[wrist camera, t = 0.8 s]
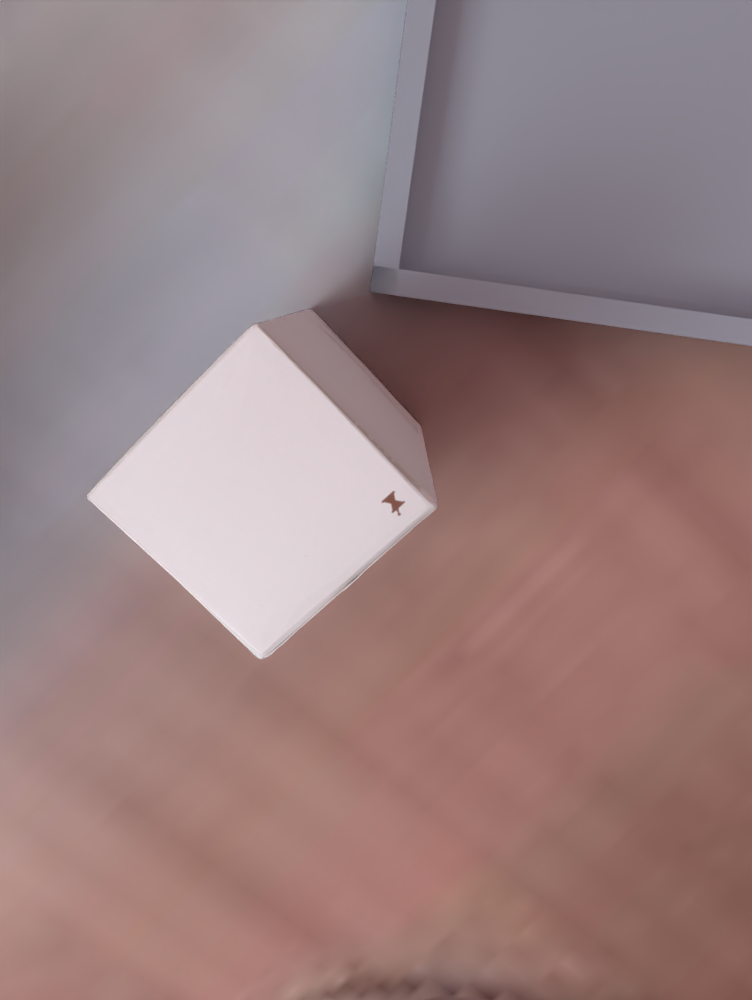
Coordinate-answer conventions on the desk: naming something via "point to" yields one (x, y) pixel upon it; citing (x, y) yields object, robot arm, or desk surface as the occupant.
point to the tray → (574, 162)
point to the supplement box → (273, 480)
